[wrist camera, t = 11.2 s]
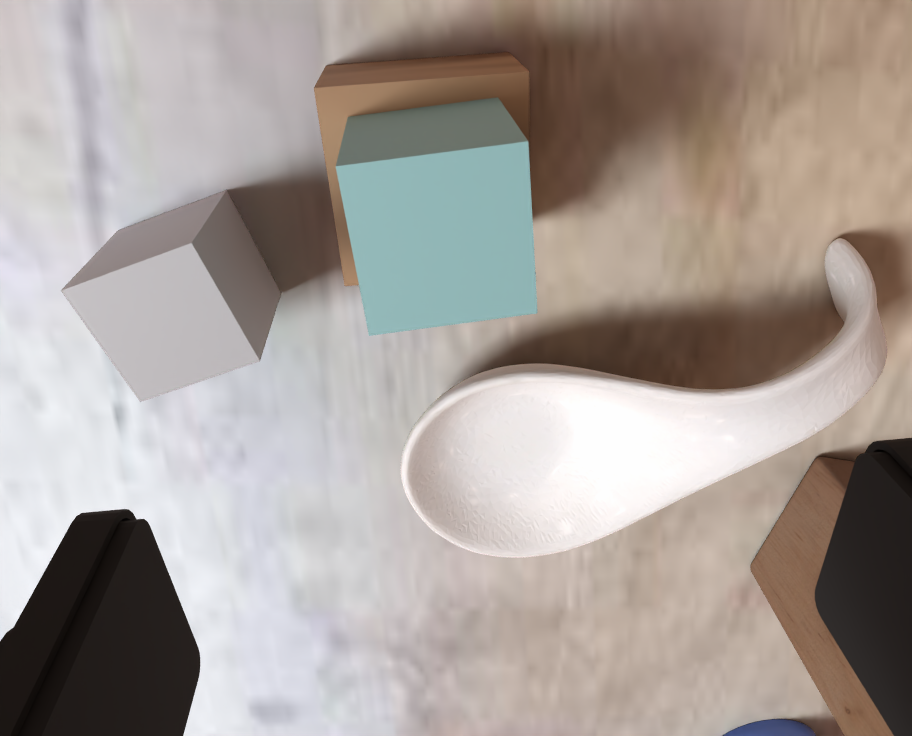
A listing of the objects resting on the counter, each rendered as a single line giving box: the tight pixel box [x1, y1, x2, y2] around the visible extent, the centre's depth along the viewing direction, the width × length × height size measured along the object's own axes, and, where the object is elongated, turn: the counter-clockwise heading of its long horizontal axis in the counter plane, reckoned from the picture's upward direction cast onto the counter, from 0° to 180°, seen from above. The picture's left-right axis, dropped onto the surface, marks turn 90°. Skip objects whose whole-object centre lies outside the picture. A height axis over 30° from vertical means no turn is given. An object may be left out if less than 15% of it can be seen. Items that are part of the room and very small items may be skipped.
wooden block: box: [750, 457, 894, 736], centre depth 34 cm, size 9×4×18 cm, turn 167°
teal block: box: [336, 97, 537, 336], centre depth 22 cm, size 5×5×6 cm
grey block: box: [61, 190, 281, 402], centre depth 28 cm, size 5×5×6 cm
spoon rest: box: [401, 238, 887, 558], centre depth 32 cm, size 24×12×7 cm, turn 119°
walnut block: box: [314, 52, 530, 286], centre depth 27 cm, size 7×7×5 cm
